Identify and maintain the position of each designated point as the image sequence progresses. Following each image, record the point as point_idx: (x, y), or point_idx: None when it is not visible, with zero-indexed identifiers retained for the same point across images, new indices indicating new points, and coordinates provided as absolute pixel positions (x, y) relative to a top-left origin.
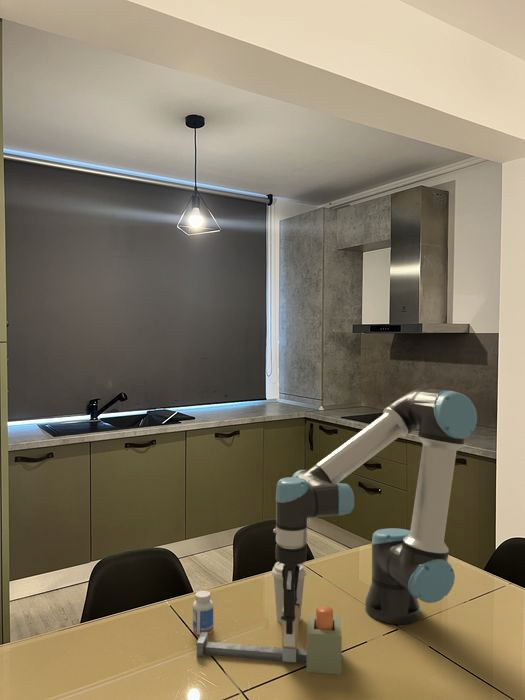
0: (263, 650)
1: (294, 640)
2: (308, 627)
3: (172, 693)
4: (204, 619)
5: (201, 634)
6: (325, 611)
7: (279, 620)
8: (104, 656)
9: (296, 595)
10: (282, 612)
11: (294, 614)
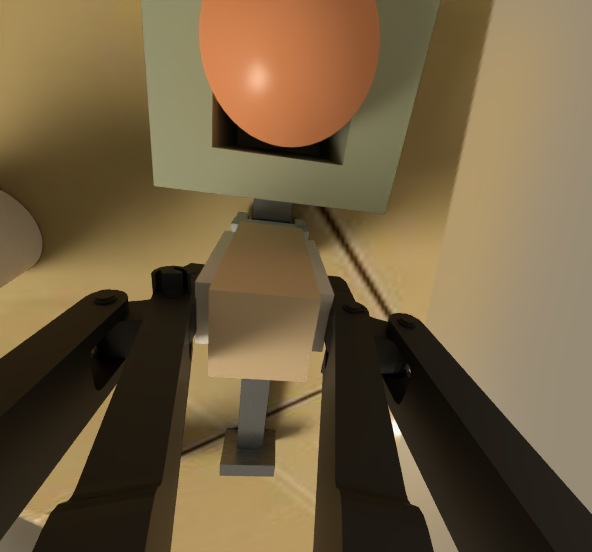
0: None
1: (317, 251)
2: (322, 198)
3: None
4: None
5: (232, 473)
6: (324, 41)
7: (27, 268)
8: (277, 547)
9: (104, 323)
10: (305, 377)
11: (368, 323)
